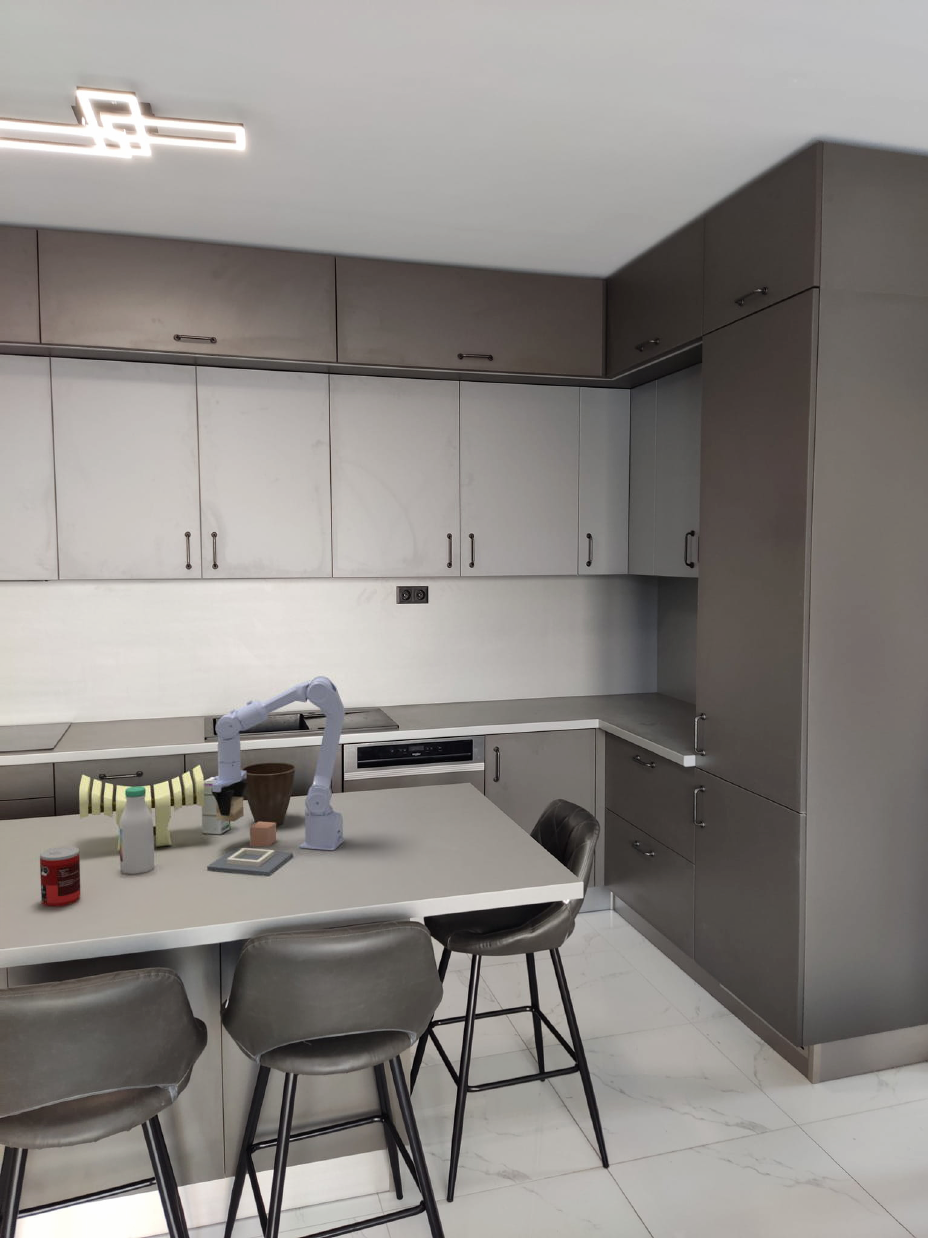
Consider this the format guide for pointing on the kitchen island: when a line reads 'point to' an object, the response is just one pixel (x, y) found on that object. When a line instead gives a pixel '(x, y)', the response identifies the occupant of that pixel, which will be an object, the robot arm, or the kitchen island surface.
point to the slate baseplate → (250, 861)
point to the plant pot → (269, 790)
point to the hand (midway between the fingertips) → (230, 812)
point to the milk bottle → (136, 833)
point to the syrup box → (211, 812)
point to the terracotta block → (262, 834)
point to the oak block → (232, 810)
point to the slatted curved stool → (160, 801)
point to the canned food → (60, 876)
